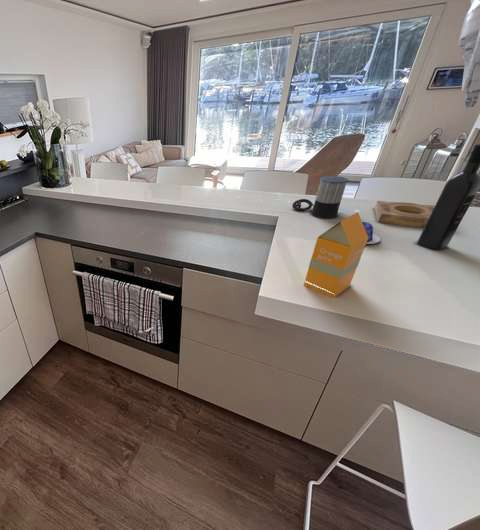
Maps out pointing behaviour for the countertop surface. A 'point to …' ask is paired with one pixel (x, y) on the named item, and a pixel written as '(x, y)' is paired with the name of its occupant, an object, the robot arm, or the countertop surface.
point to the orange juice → (337, 256)
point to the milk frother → (325, 197)
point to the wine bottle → (452, 205)
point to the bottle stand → (403, 213)
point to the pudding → (370, 233)
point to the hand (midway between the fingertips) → (472, 99)
